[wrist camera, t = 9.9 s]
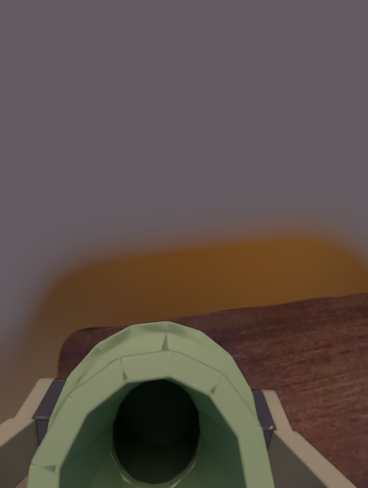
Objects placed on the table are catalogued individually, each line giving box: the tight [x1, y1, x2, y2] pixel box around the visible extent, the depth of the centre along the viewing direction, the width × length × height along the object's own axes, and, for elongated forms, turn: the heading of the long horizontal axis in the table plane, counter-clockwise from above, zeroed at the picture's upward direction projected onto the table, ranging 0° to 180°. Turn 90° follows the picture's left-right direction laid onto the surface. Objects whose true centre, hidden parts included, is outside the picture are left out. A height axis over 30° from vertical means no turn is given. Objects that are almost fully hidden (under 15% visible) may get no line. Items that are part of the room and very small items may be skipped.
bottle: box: [27, 321, 275, 488], centre depth 11 cm, size 6×6×16 cm
